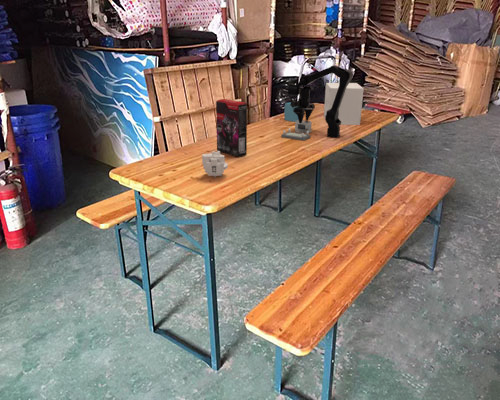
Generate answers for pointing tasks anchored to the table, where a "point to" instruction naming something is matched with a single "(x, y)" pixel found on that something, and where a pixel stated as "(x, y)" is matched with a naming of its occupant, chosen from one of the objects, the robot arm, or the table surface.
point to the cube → (345, 102)
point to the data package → (290, 113)
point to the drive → (303, 126)
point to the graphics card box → (231, 127)
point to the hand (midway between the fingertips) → (303, 122)
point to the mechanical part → (214, 163)
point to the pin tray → (296, 135)
